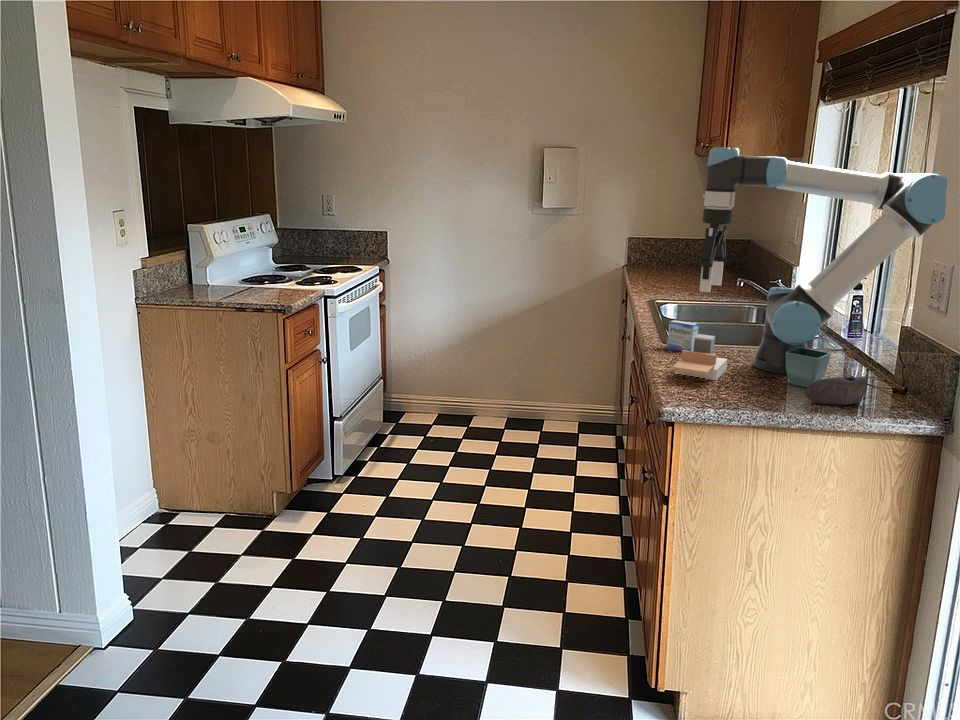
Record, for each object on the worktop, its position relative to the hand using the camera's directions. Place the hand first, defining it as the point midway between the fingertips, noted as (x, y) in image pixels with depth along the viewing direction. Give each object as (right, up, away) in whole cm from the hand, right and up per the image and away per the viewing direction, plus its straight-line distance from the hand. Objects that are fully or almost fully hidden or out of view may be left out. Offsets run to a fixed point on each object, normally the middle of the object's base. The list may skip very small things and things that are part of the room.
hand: (710, 288), depth 216 cm
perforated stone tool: (+24, -30, -20) cm, 44 cm away
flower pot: (+23, -26, -4) cm, 35 cm away
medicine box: (0, -16, +32) cm, 36 cm away
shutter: (-5, -21, -3) cm, 22 cm away
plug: (-1, -23, +6) cm, 23 cm away
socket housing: (-1, -23, +6) cm, 23 cm away
